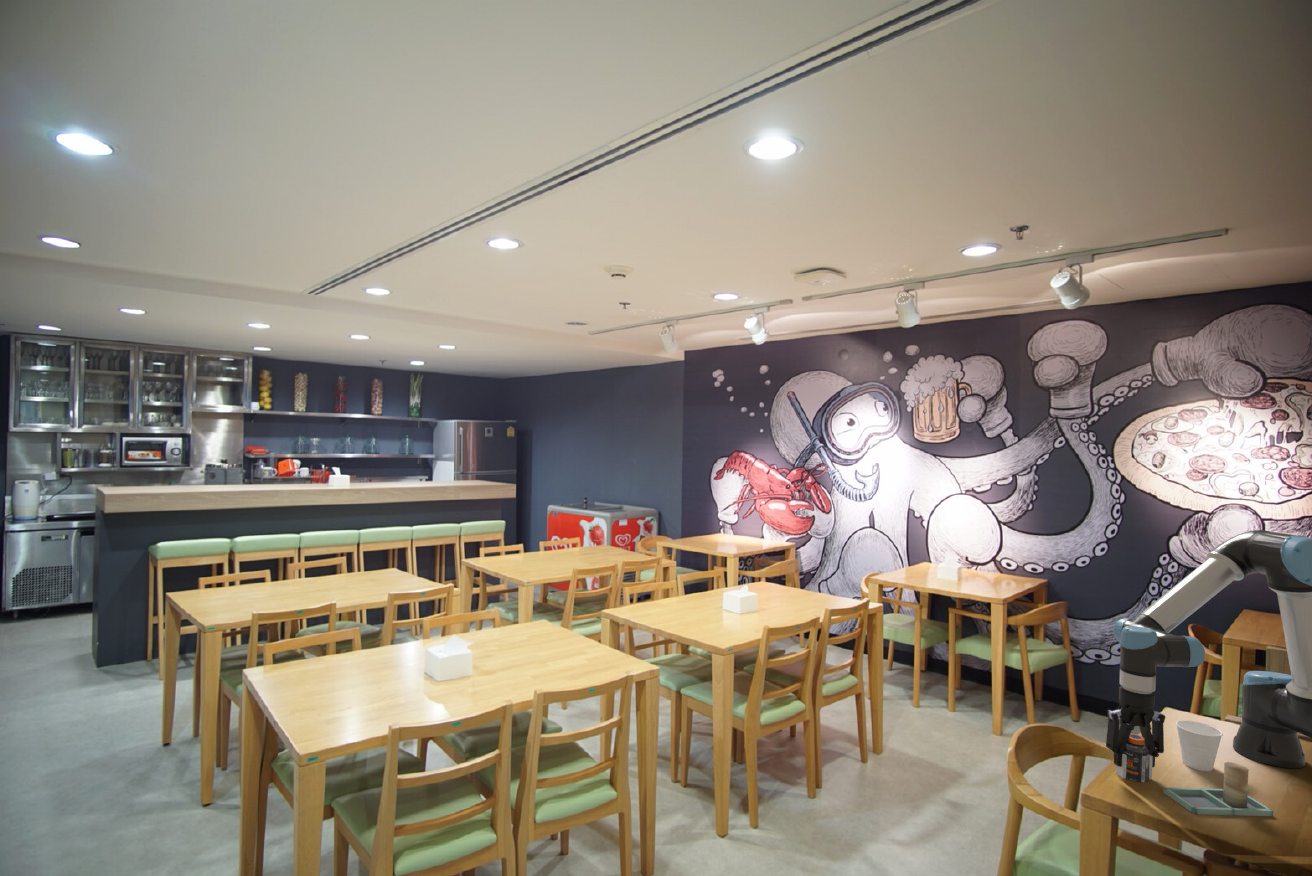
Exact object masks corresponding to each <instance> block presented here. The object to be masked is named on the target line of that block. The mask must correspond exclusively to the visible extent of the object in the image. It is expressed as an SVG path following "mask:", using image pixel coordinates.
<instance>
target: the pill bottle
mask: <svg viewBox="0 0 1312 876" xmlns="http://www.w3.org/2000/svg"><path fill="white" fill-rule="evenodd" d="M1144 744H1145V739H1144V738H1143V737H1142V735H1141V734H1136V733H1131V734H1130V737H1129V739H1128V742H1127V745H1126V748H1125V751H1124V754H1125V755H1127V764H1126V780H1129V781H1133V782H1137V783H1146V782H1148V781H1149V779H1148V762H1149V750H1148V748H1147V747H1146V746H1145V745H1144Z"/></svg>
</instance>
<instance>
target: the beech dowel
mask: <svg viewBox="0 0 1312 876" xmlns="http://www.w3.org/2000/svg"><path fill="white" fill-rule="evenodd" d="M1249 773H1250V772H1249V768H1248V767H1247V766H1244V765H1243V764H1239V763H1236V762H1229V761H1226V762H1224V766H1223V788H1222V789H1223V802H1224V803H1226V804H1227V805H1229V806H1231V807H1233V808H1247V798H1248V796H1249V793H1248V790H1249Z"/></svg>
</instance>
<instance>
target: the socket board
mask: <svg viewBox="0 0 1312 876" xmlns="http://www.w3.org/2000/svg"><path fill="white" fill-rule="evenodd" d="M1162 792H1163V794H1164V795H1166V796H1168V797H1169V798H1170V799H1171V800H1173V801H1174V802H1176V803H1177V804H1179V805H1180V806H1182V807H1183V808H1184V809H1186V810H1187V811H1189V812H1190V813H1191V814H1193V815H1207V816H1208V815H1209V816H1210V815H1212V816H1213V815H1214V816H1215V815H1216V816H1249V817H1252V816H1253V817H1274V810H1272V809H1271V808H1269V807H1268V806H1267V805H1264V804H1262V803H1261V802H1259V801H1258V800H1256V799H1255V798H1253V797H1252V796H1250V795H1248V798H1247V808H1233V807H1231V806H1229V805H1227V804H1226V803H1224V802H1223V788H1209V787H1206V788H1204V787H1203V788H1200V787H1167V786H1164V787H1163V788H1162Z"/></svg>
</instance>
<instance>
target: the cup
mask: <svg viewBox="0 0 1312 876" xmlns="http://www.w3.org/2000/svg"><path fill="white" fill-rule="evenodd" d="M1175 726H1176V729H1177V734H1178V740H1179V748H1180V754H1181V762H1182V765H1185V766H1186V767H1188V768H1191V769H1194V770H1198V771H1202V772H1212V771H1213V770H1214V766H1215V764H1216V763H1215V762H1216V759H1217V754H1218V752H1219V751H1218V750H1219V747H1220V743H1221V740H1222V737H1223V736H1224V733H1223V731H1222V730H1220V729H1219V728H1216V726H1215V727H1214V726H1212V725H1210V724H1207V723H1204V722H1199V721H1194V720H1187V719H1185V720H1183V719H1181V720H1177V721H1176V722H1175Z"/></svg>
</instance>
